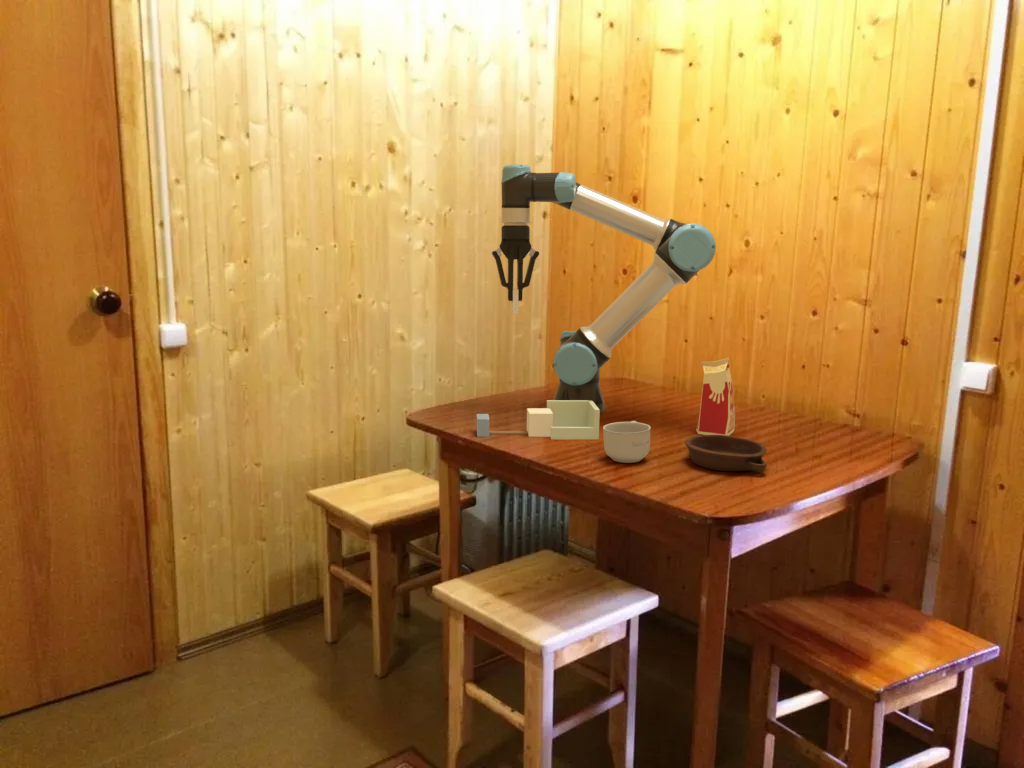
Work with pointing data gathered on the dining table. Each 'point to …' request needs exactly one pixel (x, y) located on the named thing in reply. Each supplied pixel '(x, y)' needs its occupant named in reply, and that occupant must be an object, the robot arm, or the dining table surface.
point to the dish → (726, 453)
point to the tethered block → (536, 424)
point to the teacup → (627, 441)
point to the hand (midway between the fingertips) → (515, 312)
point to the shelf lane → (574, 419)
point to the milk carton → (716, 400)
